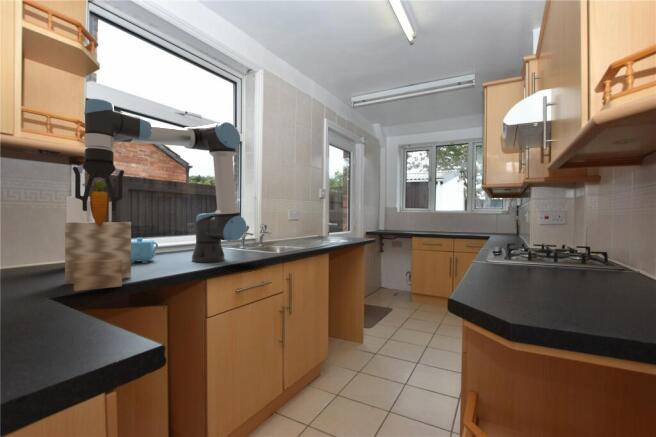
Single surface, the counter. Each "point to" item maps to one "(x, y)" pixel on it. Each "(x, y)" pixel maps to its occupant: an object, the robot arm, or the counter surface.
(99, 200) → the carrot
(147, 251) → the teapot
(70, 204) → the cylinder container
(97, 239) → the beige patterned block
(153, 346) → the counter surface
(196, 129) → the robot arm
